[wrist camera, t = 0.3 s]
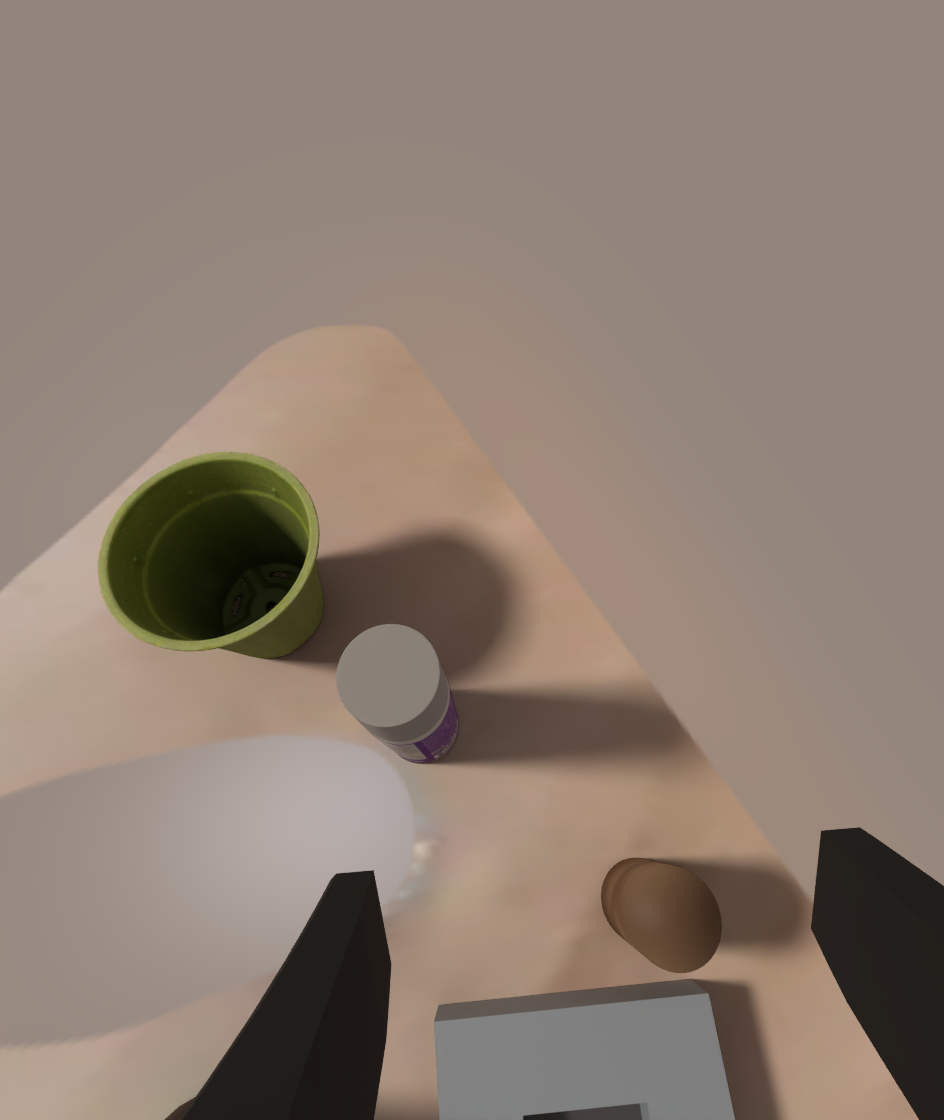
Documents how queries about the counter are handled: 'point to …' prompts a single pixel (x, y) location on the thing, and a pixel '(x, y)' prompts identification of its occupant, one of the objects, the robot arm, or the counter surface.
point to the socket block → (583, 1056)
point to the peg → (662, 913)
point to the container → (399, 692)
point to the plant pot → (215, 558)
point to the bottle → (179, 1111)
